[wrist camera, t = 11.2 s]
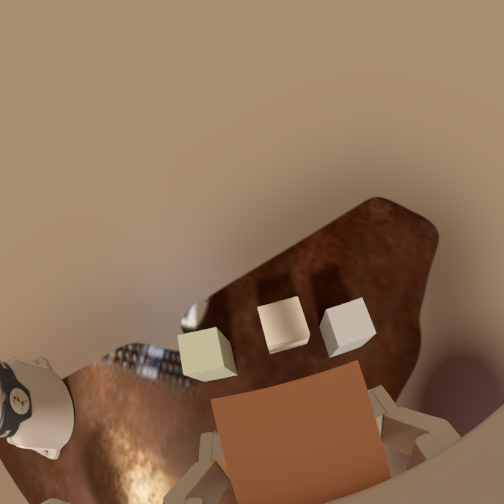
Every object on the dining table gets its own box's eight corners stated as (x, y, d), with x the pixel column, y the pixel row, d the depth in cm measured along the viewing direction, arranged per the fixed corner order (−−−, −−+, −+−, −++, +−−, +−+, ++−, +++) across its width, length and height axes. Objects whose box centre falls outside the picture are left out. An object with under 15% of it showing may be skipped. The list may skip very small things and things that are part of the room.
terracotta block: (265, 471, 12) (244, 525, 5) (247, 401, 14) (210, 399, 7) (343, 450, 12) (392, 485, 5) (324, 381, 14) (357, 360, 7)
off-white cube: (270, 354, 34) (267, 346, 30) (261, 319, 37) (257, 307, 33) (307, 343, 35) (310, 334, 30) (296, 309, 37) (297, 296, 33)
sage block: (204, 381, 33) (183, 374, 27) (198, 349, 36) (177, 335, 29) (237, 374, 33) (224, 366, 27) (230, 343, 36) (216, 326, 29)
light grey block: (329, 357, 33) (338, 347, 27) (319, 326, 36) (326, 309, 30) (360, 346, 33) (376, 333, 27) (350, 316, 36) (362, 297, 30)
